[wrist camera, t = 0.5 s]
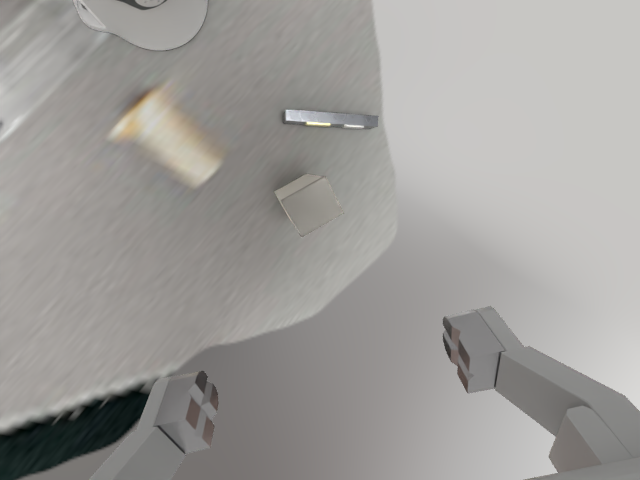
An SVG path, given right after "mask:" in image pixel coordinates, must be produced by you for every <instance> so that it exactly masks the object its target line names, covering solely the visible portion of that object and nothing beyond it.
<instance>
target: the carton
mask: <svg viewBox="0 0 640 480" xmlns="http://www.w3.org/2000/svg"><path fill="white" fill-rule="evenodd" d="M274 193H275V195H276V196H277V198H278V200H279V202H280V203H281V205H282V207H283V209H284V210H285V212H286V214H287V216H288V217H289V219H290V221H291V222H292V223H293V225H294V226H295V228H296V229H297V231H298V232H299V234H300V236H301V237H304V236H305V235H307V234H309V233H311V232H312V231H314V230H316V229H318V228H319V227H321V226H323V225H325V224H326V223H328V222H330V221H332V220H333V219H335V218H337V217H339V216H340V215H342V214H344V212H343V210H342V208H341V206H340V204H339V202H338V200H337V198H336V196H335V194H334V192H333V190H332V188H331V186H330V184H329V182H328V180H327V178H326V176H317V175H311V174H305V175H303V176H301V177H300V178H298V179H296V180H294V181H292V182H291V183H289V184H287V185H285V186H283V187H282V188H280V189H278V190H276V191H274Z"/></svg>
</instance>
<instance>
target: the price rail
mask: <svg viewBox="0 0 640 480" xmlns="http://www.w3.org/2000/svg"><path fill="white" fill-rule="evenodd" d="M283 123H284V124H300V125H305V126H320V127H328V126H331V127H341V128H353V129H361V128H362V129H371V128H374V127H378V116H371V115H357V114H343V113H330V112H316V111H303V110H289V109H286V110H285V111H284V113H283Z"/></svg>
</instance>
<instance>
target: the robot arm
mask: <svg viewBox="0 0 640 480" xmlns="http://www.w3.org/2000/svg"><path fill="white" fill-rule="evenodd" d="M73 3H74V5H75V7H76V9H77V12H78V14H79V16H80V18H81V20H82V21H83V22H84V23H85V24H86V25H87V26H88V27H89V28H91V29H94V30H98V31H103V32H109V33H113V34H116V35H117V36H119V37H121V38H123V39H124V40H126V41H128V42H130V43H132V44H134V45H136V46H139V47H141V48H145V49H150V50H170V49H174V48H177V47H180V46H182V45H184V44H185V43H187V42H188V41H190V40H191V39H192V38H193V37H194V36H195V35H196V34H197V32H198V31H199V30H200V28H201V26H202V24H203V22H204V20H205V16H206V13H207V7H208V0H73ZM84 7H85V8H86V9H85V8H84ZM443 326H444V328H445V329H446V330H445V331H444V333H443V342H444V346H445V350H446V352H447V355H448V357H449V359H450V360H451V362H452V363H454V364H455V365H457V366H458V370H457V371H458V372H457V374H458V376H459V378H460V380H461V382H462V384H463V386H464V388H465V390H466V392H467V393H473V392H478V391H484V390H489V389H495V390H496V391H497V392H498V393H500V394H501V395H502V396H504V397H505V398H506V399H508V400H509V401H510V402H511V403H513V404H514V405H515V406H517V407H518V408H519V409H521V410H522V411H523V412H525V413H526V414H527V415H528V416H530V417H531V418H532V419H534V420H535V421H536V422H537V423H539V424H540V425H541V426H543V427H544V428H545V429H547V430H548V431H549V432H550V433H552V434H553V435H555V436H556V438H555V441H554V443H553V446H552V448H551V451H550V454H549V458H550V460H551V462H552V464H553V465H554V467H555V468H556V470H557V472H558V473H555V474H550V475H545V476H540V477H535V478H530V479H525V480H640V411H639V410H638V409H637V408H636V407H635V406H634V405H633V404H632V403H631V402H630V401H629V400H628V399H627V398H626V397H625V396H624V395H622V394H620V393H618V392H616V391H615V390H613V389H611V388H609V387H607V386H605V385H603V384H601V383H599V382H597V381H595V380H593V379H591V378H589V377H587V376H586V375H584V374H582V373H580V372H578V371H576V370H574V369H572V368H570V367H568V366H566V365H564V364H563V363H561V362H559V361H557V360H555V359H553V358H551V357H549V356H547V355H545V354H543V353H541V352H539V351H537V350H536V349H534V348H532V347H530V346H528V347H524V346H523V345H522V344H521V342H520V341H519V340H518V338H517V337H516V336H515V335H514V333H513V332H512V331H511V330H510V328H509V327H508V326H507V325H506V323H505V322H504V321H503V319H502V318H501V317H500V316H499V314H498V313H497V312H496V310H495V309H494V308H492V307H491V306H489V307H485V308H480V309H476V310H470V311H466V312H461V313H457V314H453V315H449V316H445V317H444V318H443ZM207 378H208V376H207V374H206V373H205V372H204V371H199V372H194V373H189V374H184V375H178V376H173V377H168V378H163V379H159V380H157V381H156V382H155V384H154V385H153V388H152V390H151V393H150V395H149V398H148V401H147V403H146V406H145V408H144V411H143V414H142V416H141V419H140V421H139V424H138V427H137V429H136V431H133V432H131V433H130V434H129V435H128V436H127V437H126V439H125V440H124V441H123V442H122V443H121V444H120V445H119V446H118V448H117V449H116V450H115V451H114V452H113V453H112V454H111V455H110V456H109V458H108V459H107V460H106V461H105V462H104V463H103V464H102V465H101V466H100V468H99V469H98V470H97V471H96V472H95V473H94V474H93V475H92V477H91V478H90V479H89V480H171V478H172V477H173V475H174V473H175V472H176V470H177V469H178V467H179V465H180V464H181V462H182V460H183V459H184V457H185V454H186V453H191V452H195V451H199V450H203V449H207V448H211V443H212V438H213V432H214V424H213V422H212V418H213V417H214V416H215V414H216V413H217V410H218V404H219V402H218V392H217V389H216V387H215V386H214V384H213V383H210V382H208V381H207Z"/></svg>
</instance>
